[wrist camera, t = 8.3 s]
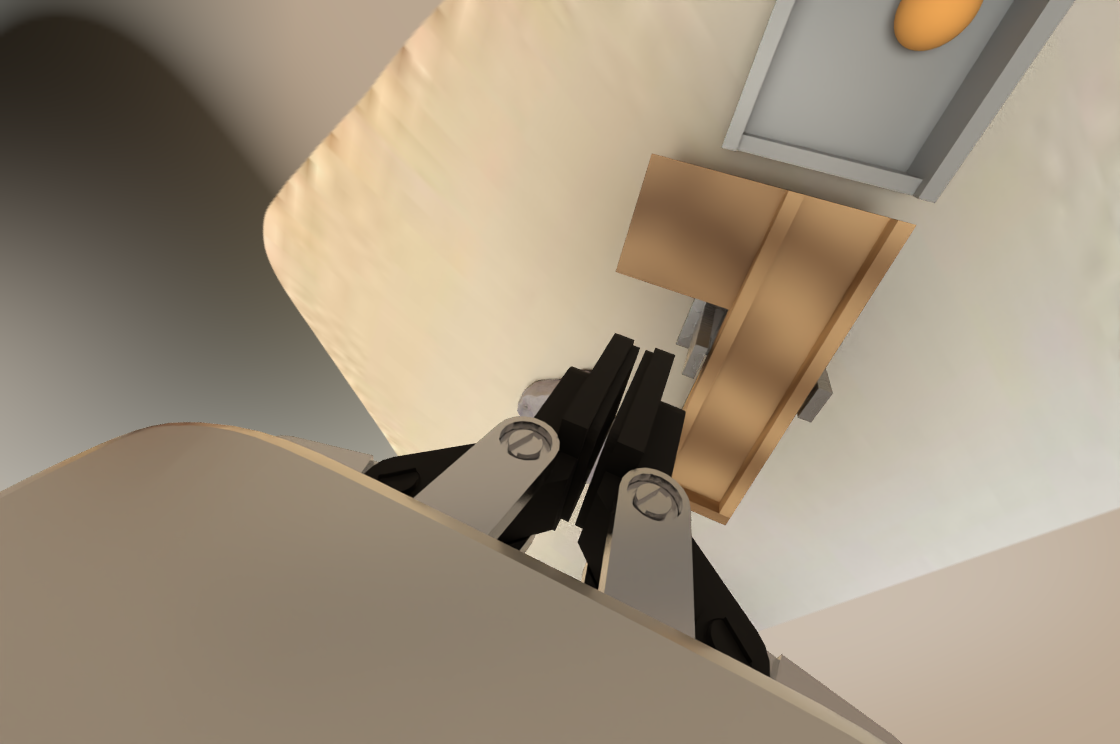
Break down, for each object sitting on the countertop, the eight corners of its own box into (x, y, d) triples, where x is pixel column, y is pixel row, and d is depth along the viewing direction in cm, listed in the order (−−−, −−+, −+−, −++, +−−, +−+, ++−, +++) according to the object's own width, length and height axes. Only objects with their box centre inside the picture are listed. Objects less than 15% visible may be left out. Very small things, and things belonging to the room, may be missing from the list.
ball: (996, -17, 19) (953, 64, 21) (916, -16, 21) (880, 59, 22) (1012, -60, 17) (961, 35, 18) (919, -56, 19) (879, 31, 20)
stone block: (567, 457, 50) (641, 464, 43) (544, 484, 46) (621, 496, 40) (528, 370, 46) (604, 362, 39) (500, 393, 42) (578, 389, 36)
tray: (909, 189, 25) (945, 208, 20) (725, 142, 27) (719, 149, 22) (1077, -72, 18) (1189, -134, 14) (819, -106, 21) (838, -171, 16)
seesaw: (725, 490, 34) (725, 525, 31) (573, 426, 37) (558, 452, 33) (889, 217, 24) (916, 225, 20) (658, 155, 26) (648, 152, 23)
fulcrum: (799, 384, 33) (809, 447, 27) (676, 340, 35) (660, 390, 29) (843, 319, 30) (866, 374, 23) (704, 274, 32) (692, 314, 25)
